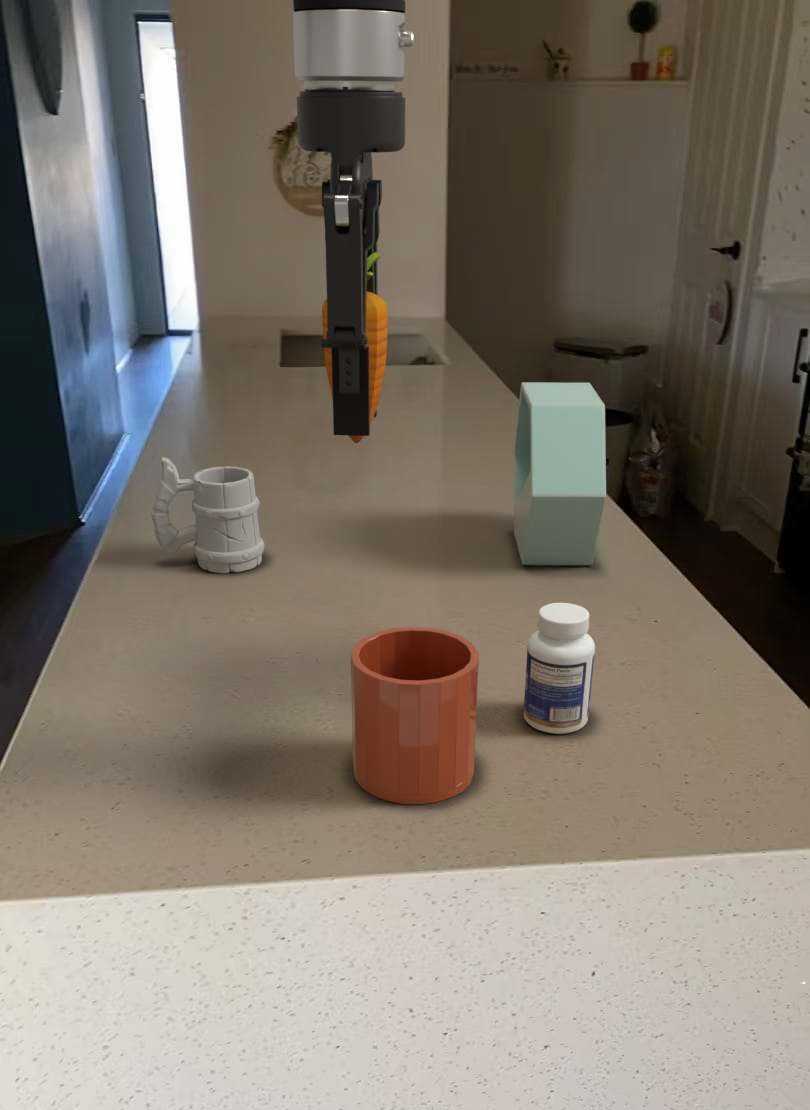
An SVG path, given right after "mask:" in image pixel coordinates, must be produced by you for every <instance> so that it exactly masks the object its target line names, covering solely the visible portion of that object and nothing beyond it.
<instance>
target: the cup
mask: <svg viewBox="0 0 810 1110" xmlns="http://www.w3.org/2000/svg"><path fill="white" fill-rule="evenodd" d="M350 653H351V654H350V686H351V687H350V691H351V737H352V739H351V740H352V764H353V776H354V779H355V780H356V782H357V784H358V785H359V786H360V787H361V789H363V790H364V791H365V792H367V793H368V794H370V795H372V796H374V797H376V798H378V799H380V800H384V801H387V802H392V803H395V804H402V805H426V804H433V803H434V804H435V803H438V802H442V801H446V800H449V799H451V798H453V797H455V796H457V795H459V794H460V793H462V792H463V791H465V790H466V789H467V788H468V787H469V785H470V784H471V783H472V781H473V778H474V774H475V759H476V758H475V757H476V735H477V733H476V732H477V712H478V711H477V709H478V707H477V706H478V685H479V684H478V681H479V663H480V659H479V658H480V653H479V651H478V650H477V648H476V646H475V645H474V643H473V642H471V641H470V640H468V639H467V638H465V637H464V636H462V635H459V634H457V633H455V632H451V631H448V630H444V629H439V628H434V627H421V626H405V627H395V628H389V629H384V630H381V631H378V632H374V633H372V634H370V635H368V636H365V637H363V638H362V639H360V640H359V641H358V642H357V643H356V644H354V645H353V647H352V649H351V652H350Z"/></svg>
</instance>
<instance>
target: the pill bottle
mask: <svg viewBox="0 0 810 1110" xmlns="http://www.w3.org/2000/svg"><path fill="white" fill-rule="evenodd" d="M589 629H590V612H589V611H588V610H587V608H585V607H583V606H581V605H579V604H574V603H569V602H568V603H567V602H554V603H548V604H544V605H542V606H541V607H540V609H538V617H537V630H535V631H534V632H532V634H531V635H530V637H529V639H528V641H527V645H526V646H527V647H526V666H525V683H524V698H523V718H524V720H525V721H526V723H527V724H528V725H529V726H530V727H532V728H534V729H536V730H537V731H540V732H544V733H549V734H556V735H565V734H569V733H574V732H577V731H579V730H580V729H583V728H584V727H585V725H587V723H588V720H589V714H590V706H591V695H592V687H593V686H592V685H593V676H594V675H593V673H594V663H595V655H596V645H595V641H594V640H593V638H592V636H591V635H590V634H588V632H589Z"/></svg>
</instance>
